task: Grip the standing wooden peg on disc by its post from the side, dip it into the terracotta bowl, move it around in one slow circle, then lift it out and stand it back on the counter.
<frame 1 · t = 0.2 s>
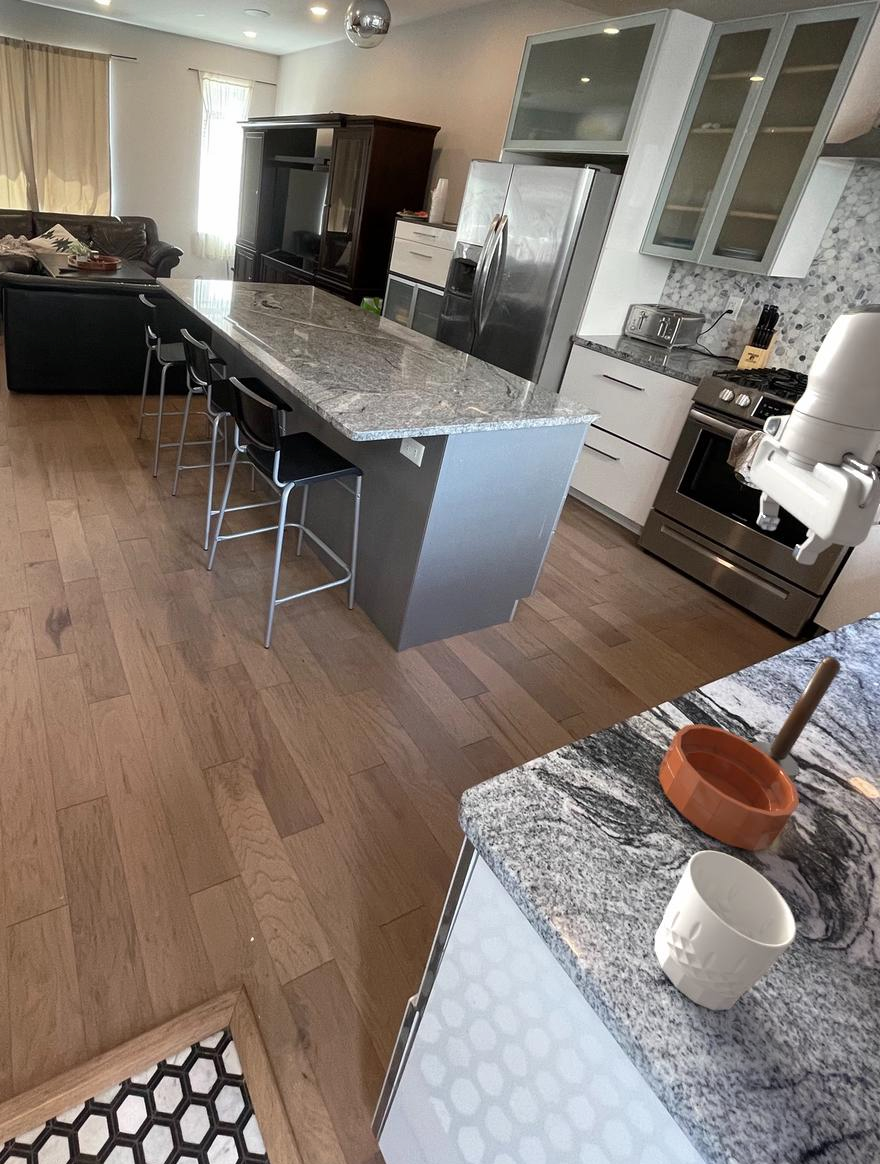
hand: (782, 543, 80), 27 cm above the counter, tool pointing down, fingers open, 8 cm apart
bowl: (713, 803, 74), on the counter
wooden peg on disc: (768, 769, 80), on the counter
white cup: (693, 968, 56), on the counter
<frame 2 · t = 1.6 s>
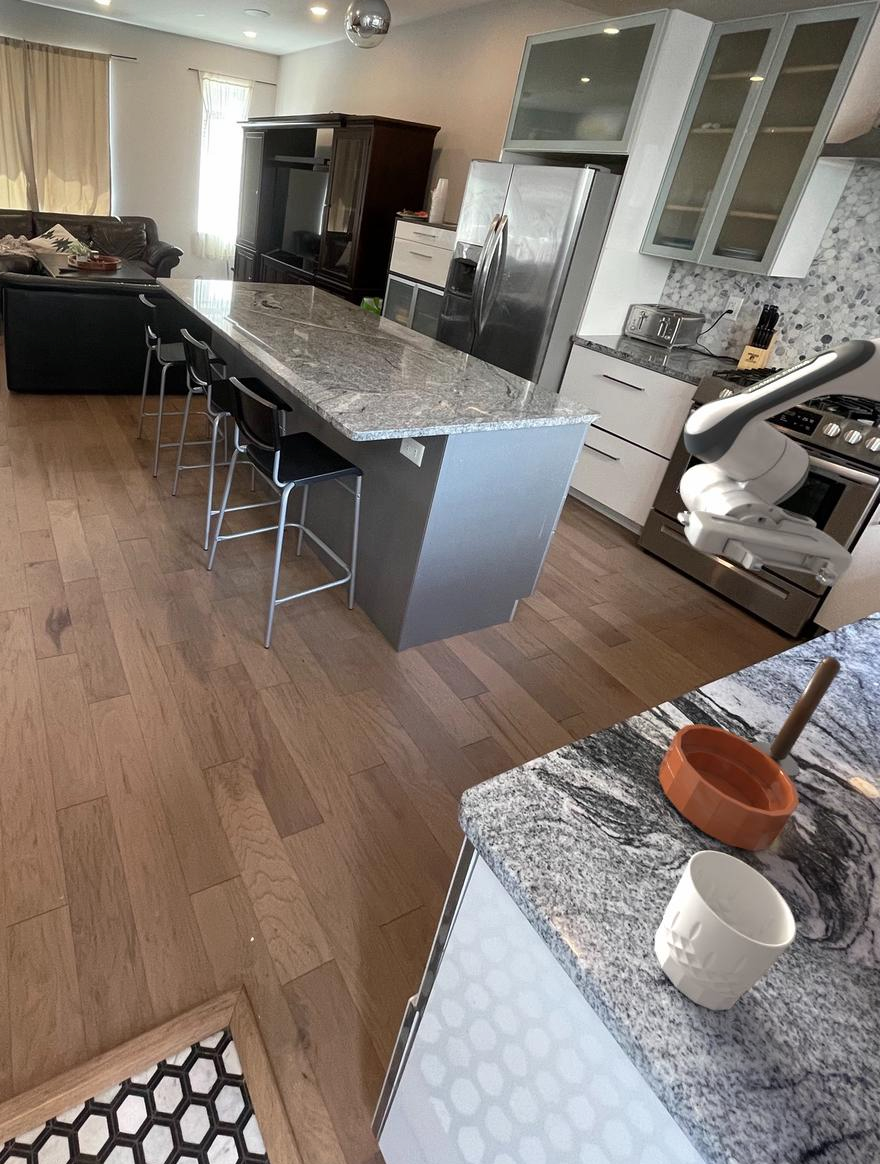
hand: (793, 573, 82), 22 cm above the counter, tool horizontal, fingers open, 8 cm apart
nothing on the counter moved.
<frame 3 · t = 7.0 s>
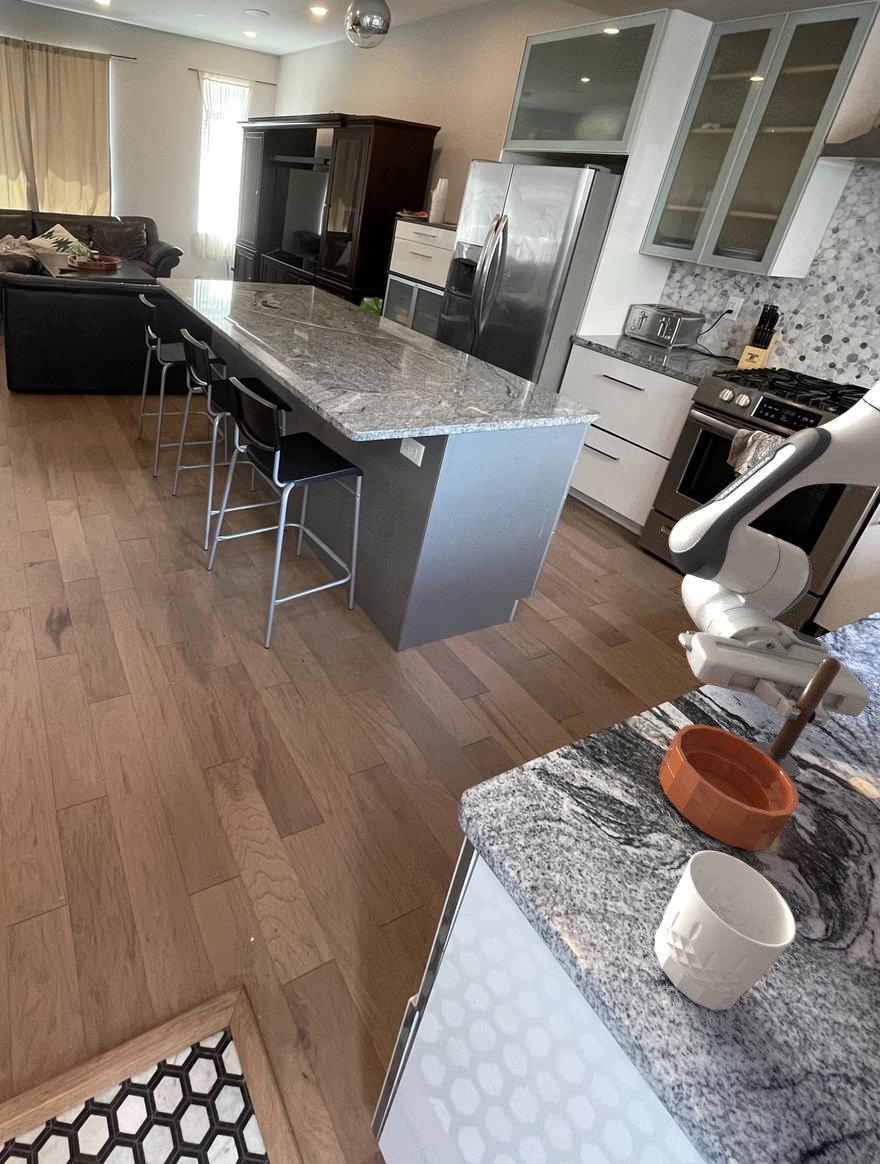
hand: (806, 718, 75), 10 cm above the counter, tool horizontal, fingers closed on wooden peg on disc
wooden peg on disc: (768, 769, 80), on the counter, touching gripper
everything else where it was.
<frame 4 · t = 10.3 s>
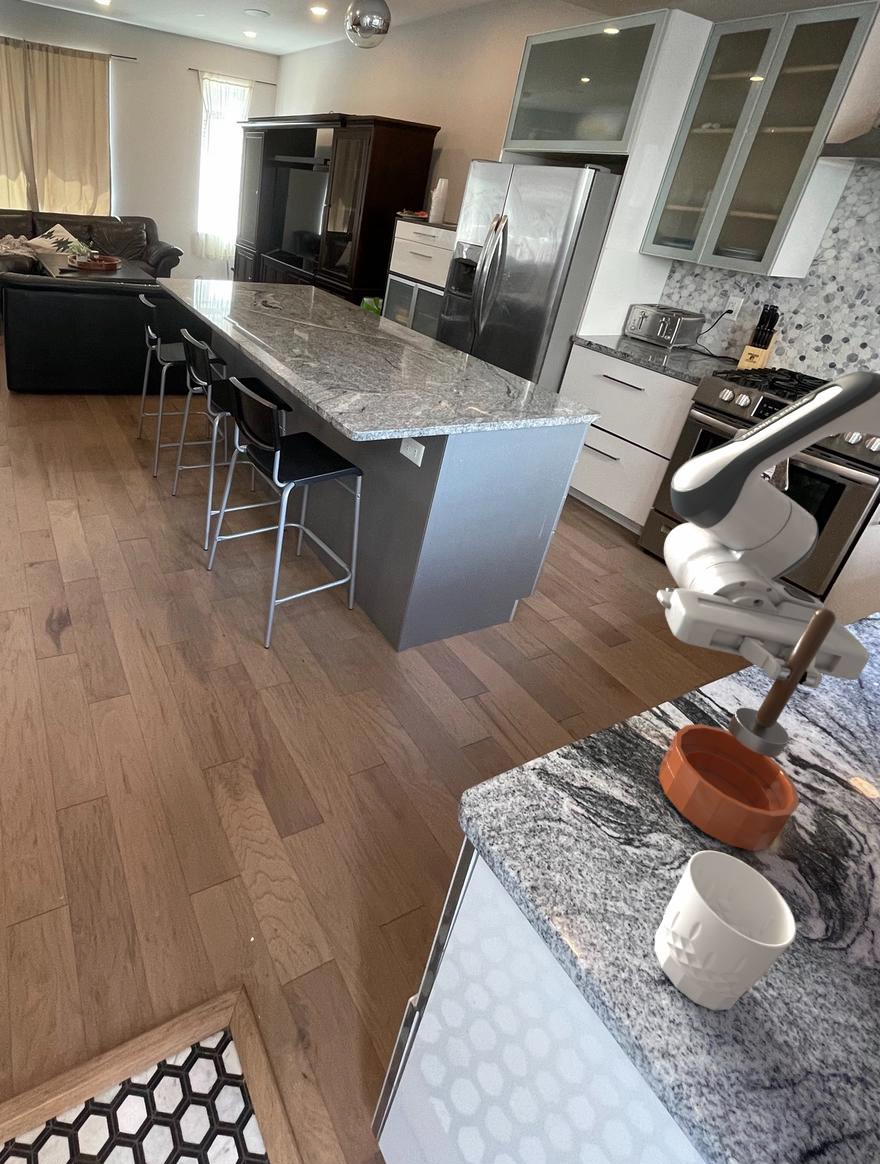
hand: (796, 678, 67), 19 cm above the counter, tool horizontal, fingers closed on wooden peg on disc
wooden peg on disc: (754, 738, 71), point 9 cm above the counter, touching gripper
everything else where it was.
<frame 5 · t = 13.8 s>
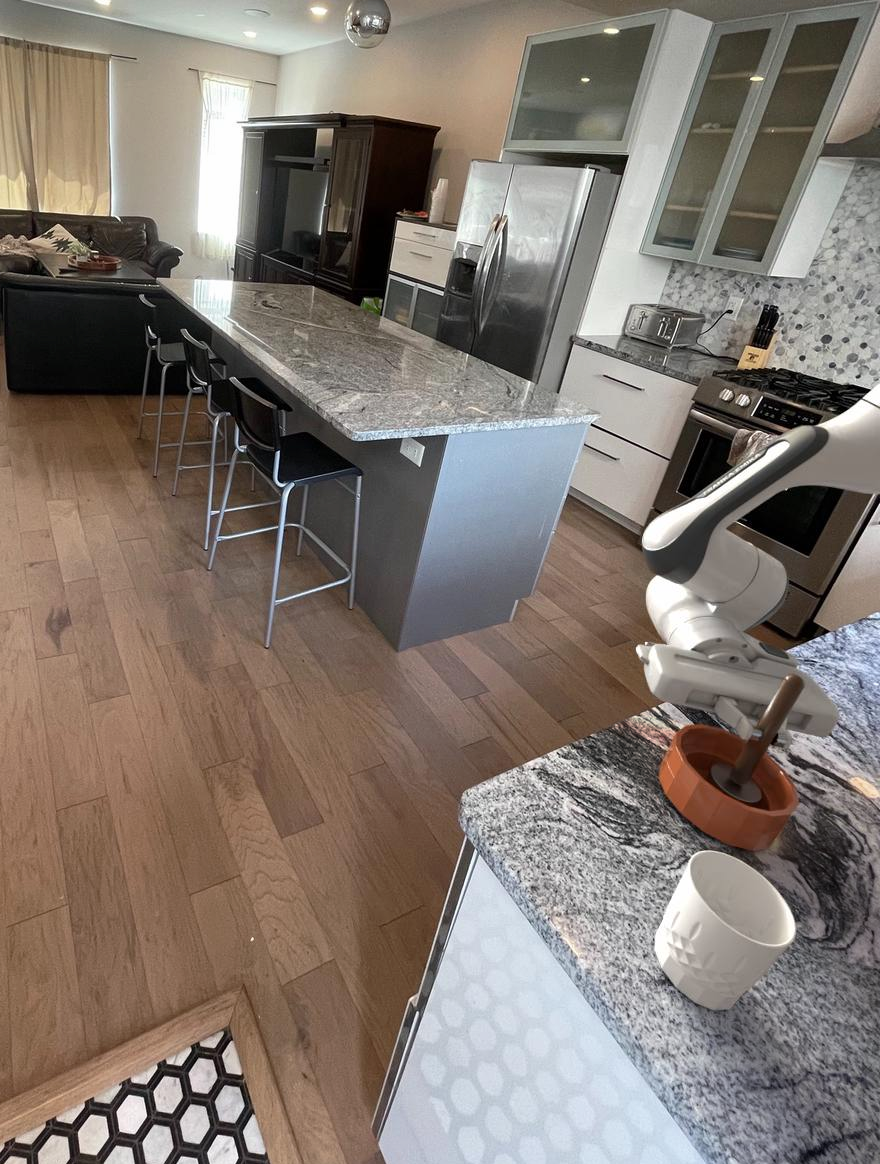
hand: (768, 740, 69), 11 cm above the counter, tool horizontal, fingers closed on wooden peg on disc
wooden peg on disc: (728, 794, 73), point 1 cm above the counter, touching gripper
everything else where it was.
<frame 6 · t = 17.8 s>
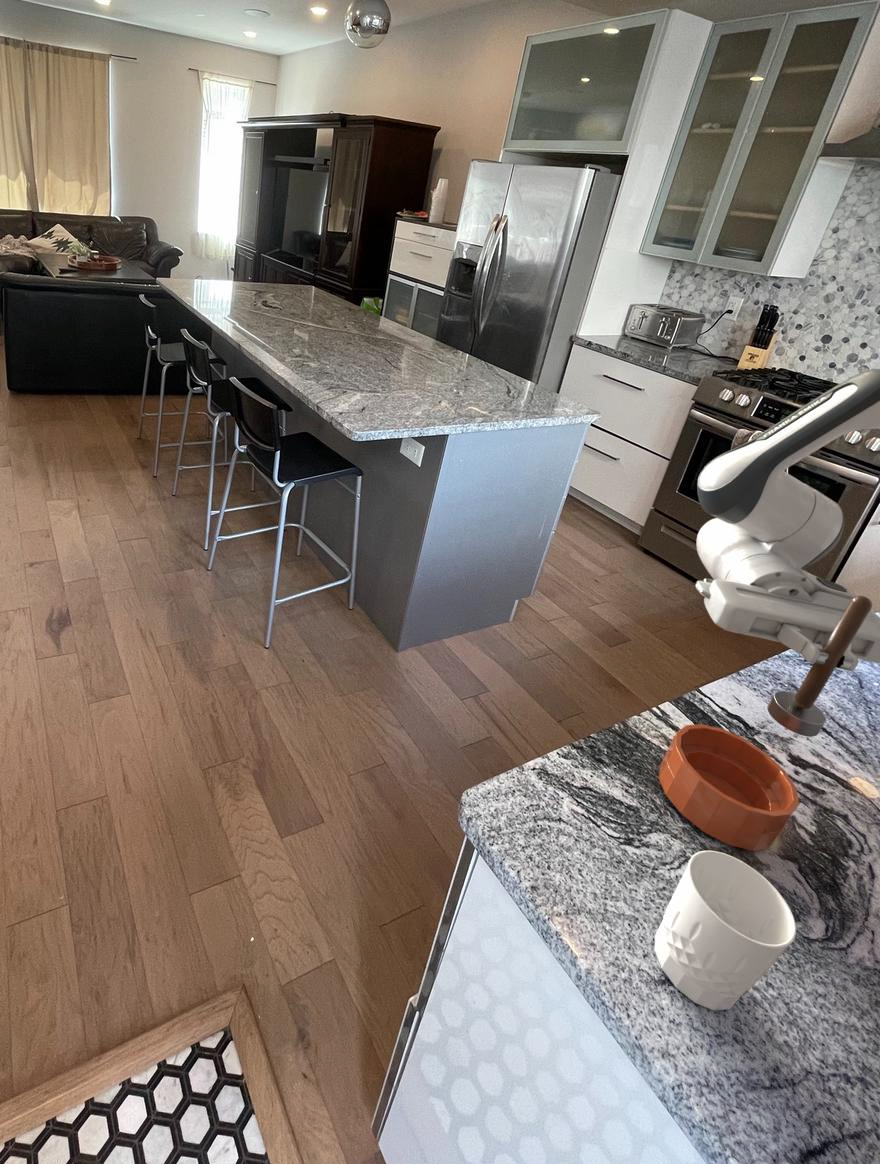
hand: (834, 662, 71), 19 cm above the counter, tool horizontal, fingers closed on wooden peg on disc
wooden peg on disc: (792, 719, 75), point 9 cm above the counter, touching gripper
everything else where it was.
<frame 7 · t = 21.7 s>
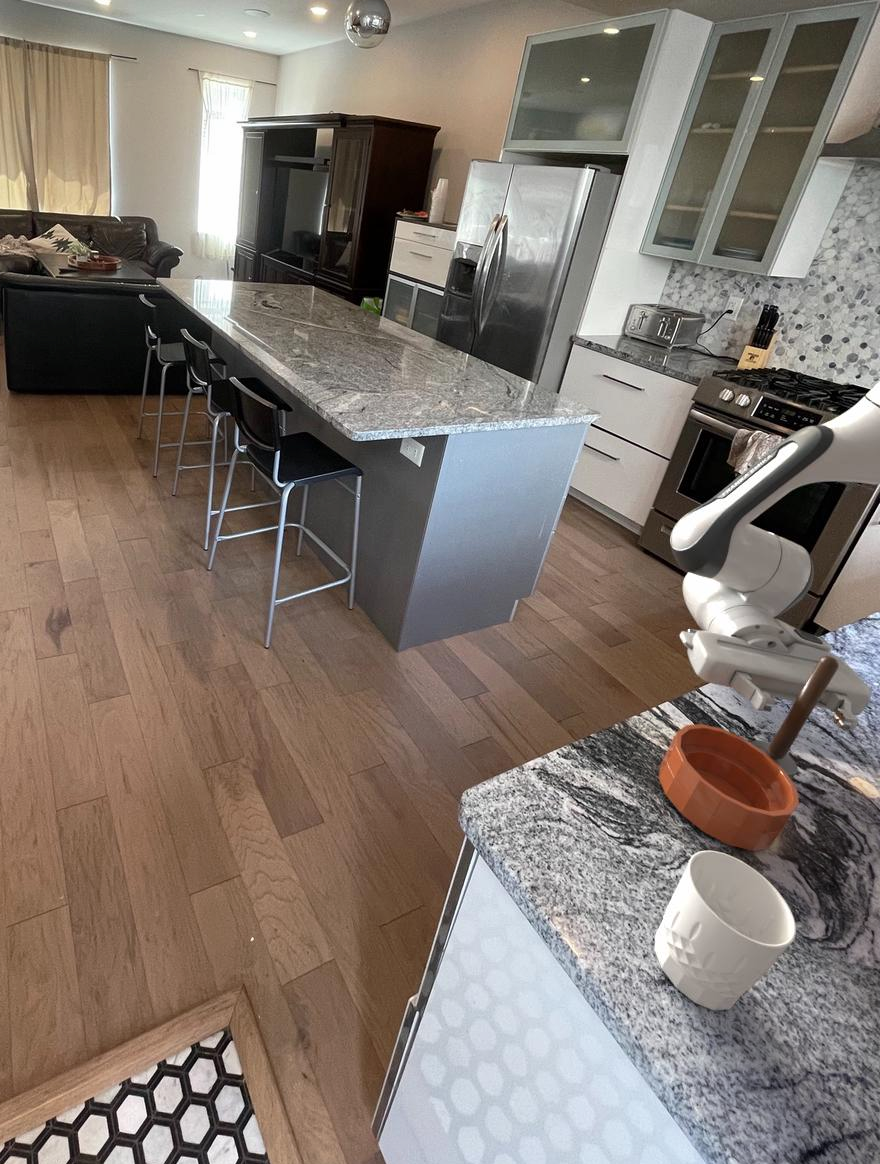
hand: (807, 716, 75), 10 cm above the counter, tool horizontal, fingers open, 8 cm apart
wooden peg on disc: (766, 768, 80), on the counter
everything else where it was.
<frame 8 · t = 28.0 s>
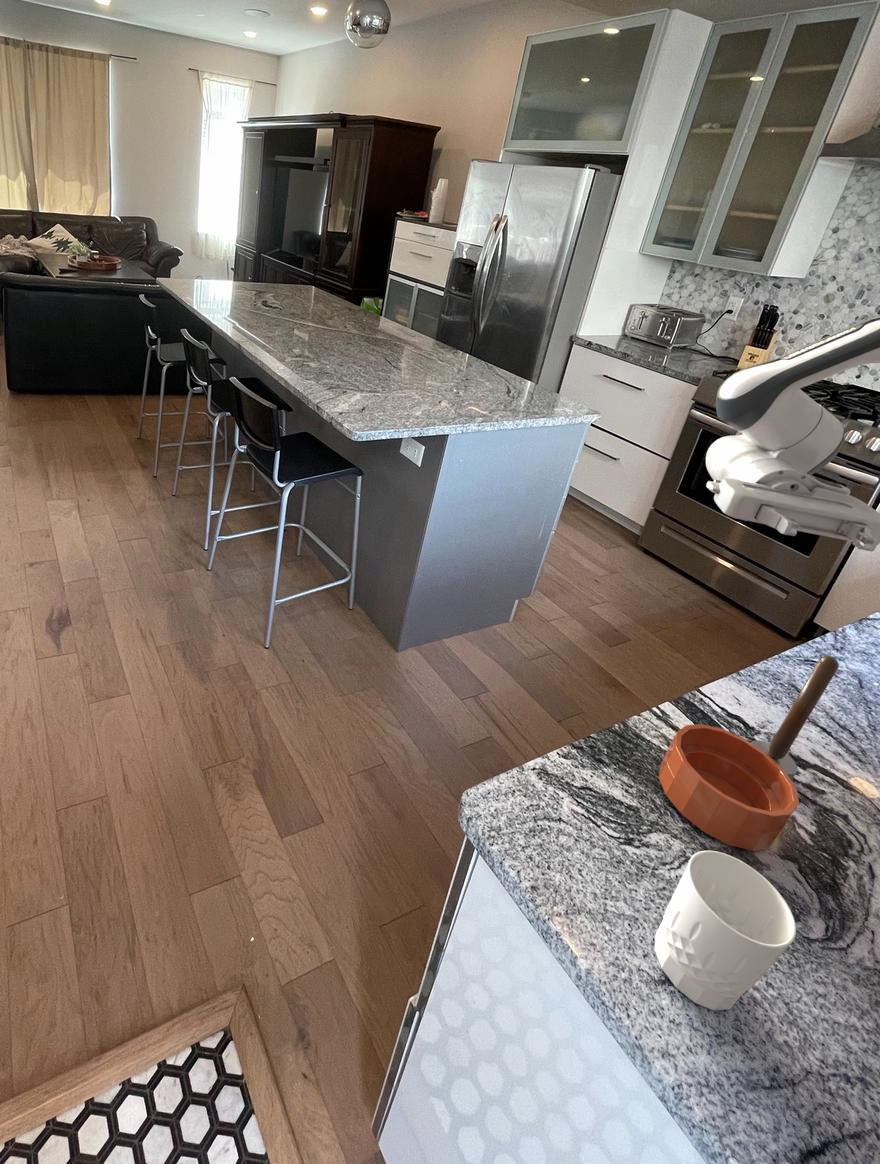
hand: (830, 537, 80), 28 cm above the counter, tool horizontal, fingers open, 8 cm apart
nothing on the counter moved.
at the end: wooden peg on disc inside the target area (0.1 cm from its centre), on the counter; wooden peg on disc tilted 0°; the gripper is holding nothing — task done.
